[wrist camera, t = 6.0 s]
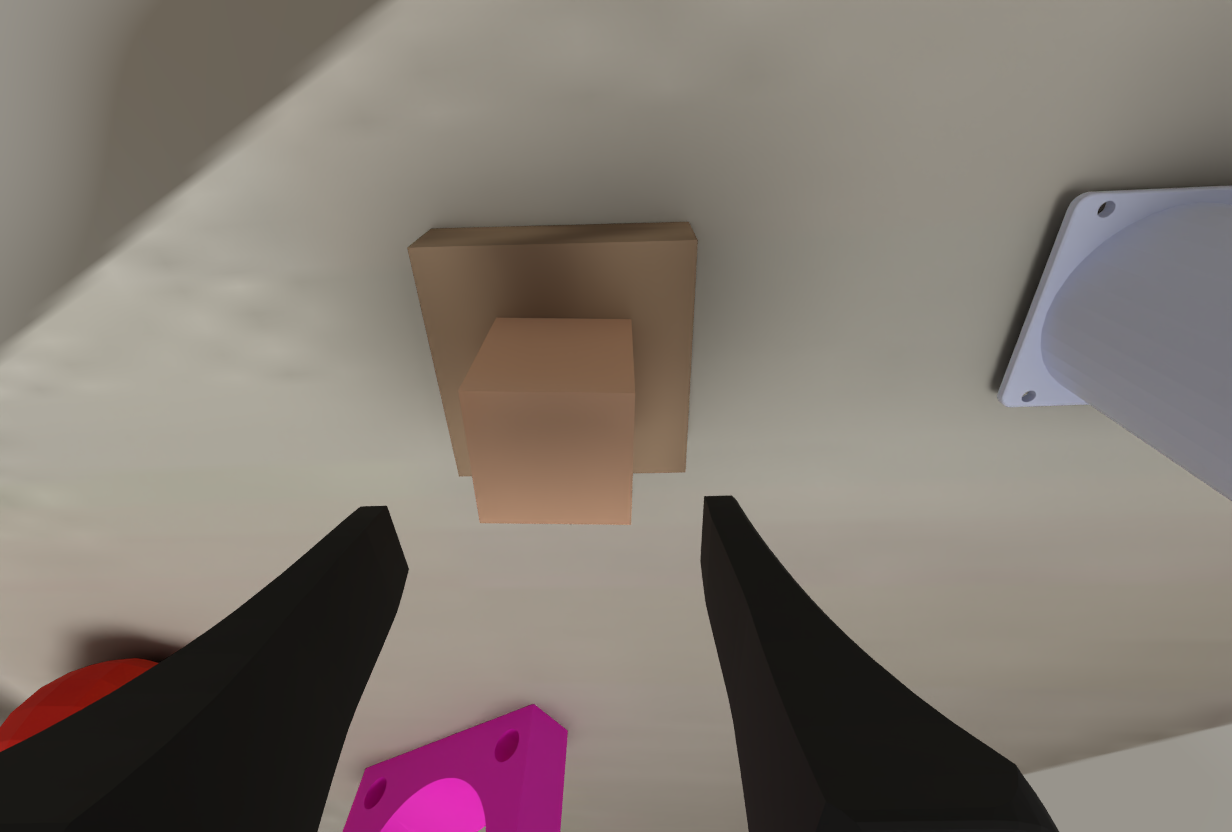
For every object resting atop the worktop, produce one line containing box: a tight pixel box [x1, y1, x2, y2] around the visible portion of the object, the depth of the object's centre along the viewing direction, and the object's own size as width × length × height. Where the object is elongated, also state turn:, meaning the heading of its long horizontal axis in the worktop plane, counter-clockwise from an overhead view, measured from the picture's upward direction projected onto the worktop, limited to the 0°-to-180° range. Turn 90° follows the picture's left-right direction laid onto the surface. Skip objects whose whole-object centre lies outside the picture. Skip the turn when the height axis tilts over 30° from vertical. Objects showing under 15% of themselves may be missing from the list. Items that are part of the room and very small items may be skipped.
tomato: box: [0, 658, 158, 752], centre depth 30 cm, size 11×12×9 cm
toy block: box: [343, 704, 568, 832], centre depth 35 cm, size 15×6×8 cm, turn 123°
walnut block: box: [407, 222, 698, 476], centre depth 20 cm, size 9×9×3 cm
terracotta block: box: [458, 318, 635, 525], centre depth 17 cm, size 4×4×5 cm
